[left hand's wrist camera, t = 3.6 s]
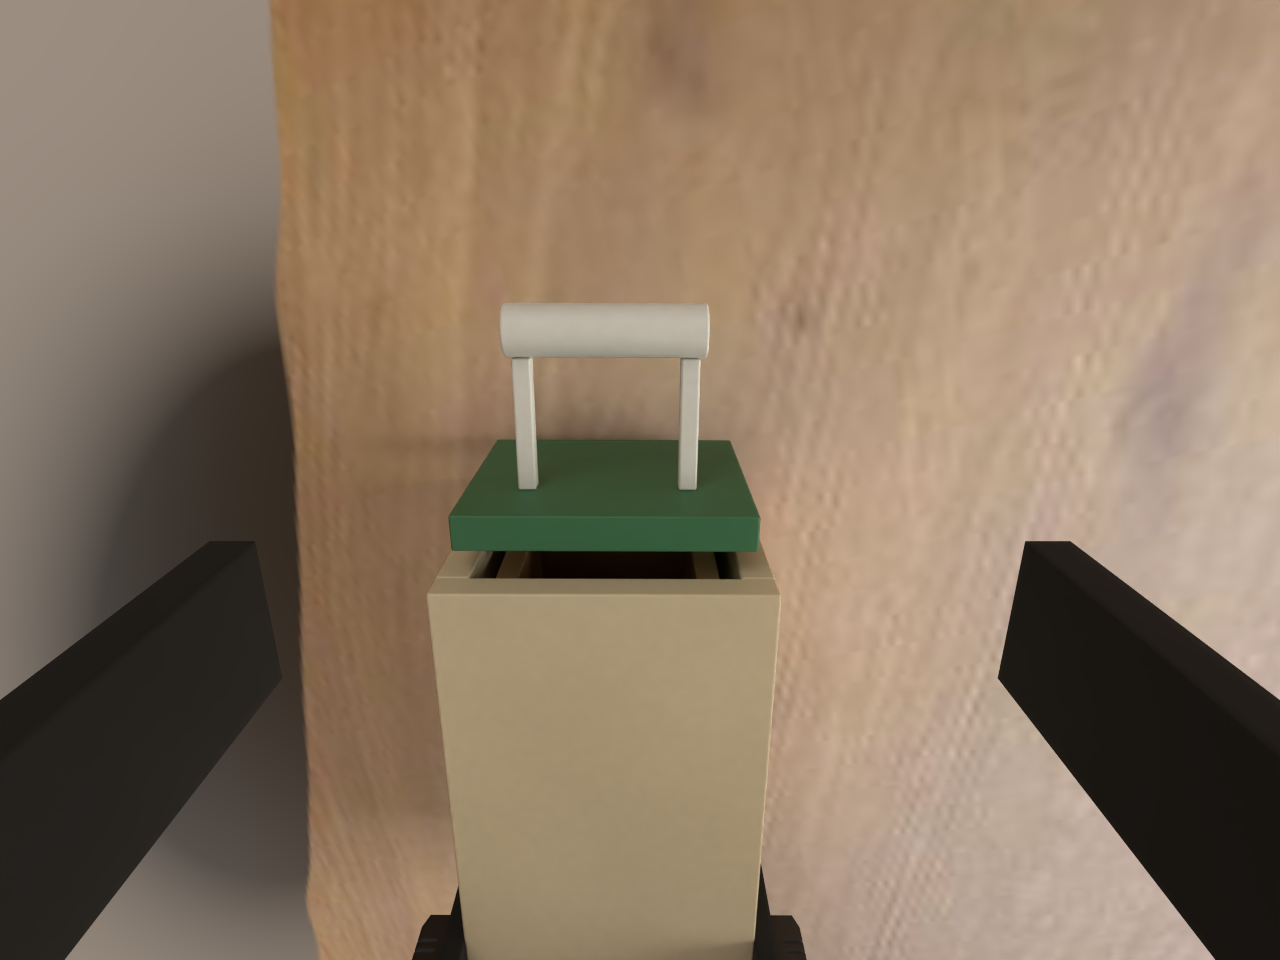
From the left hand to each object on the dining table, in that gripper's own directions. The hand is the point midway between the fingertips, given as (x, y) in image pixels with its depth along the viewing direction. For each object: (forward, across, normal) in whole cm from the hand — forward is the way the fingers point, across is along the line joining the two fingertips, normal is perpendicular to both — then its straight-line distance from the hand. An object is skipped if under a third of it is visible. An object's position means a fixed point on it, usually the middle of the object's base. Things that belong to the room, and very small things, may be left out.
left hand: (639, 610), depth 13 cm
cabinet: (+18, -1, -14) cm, 23 cm away
